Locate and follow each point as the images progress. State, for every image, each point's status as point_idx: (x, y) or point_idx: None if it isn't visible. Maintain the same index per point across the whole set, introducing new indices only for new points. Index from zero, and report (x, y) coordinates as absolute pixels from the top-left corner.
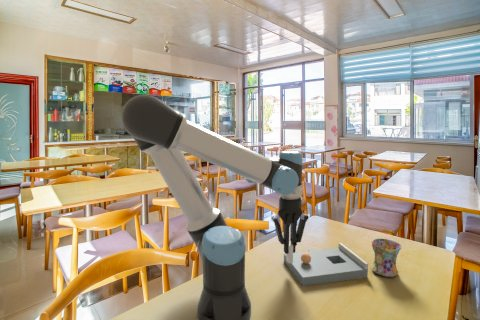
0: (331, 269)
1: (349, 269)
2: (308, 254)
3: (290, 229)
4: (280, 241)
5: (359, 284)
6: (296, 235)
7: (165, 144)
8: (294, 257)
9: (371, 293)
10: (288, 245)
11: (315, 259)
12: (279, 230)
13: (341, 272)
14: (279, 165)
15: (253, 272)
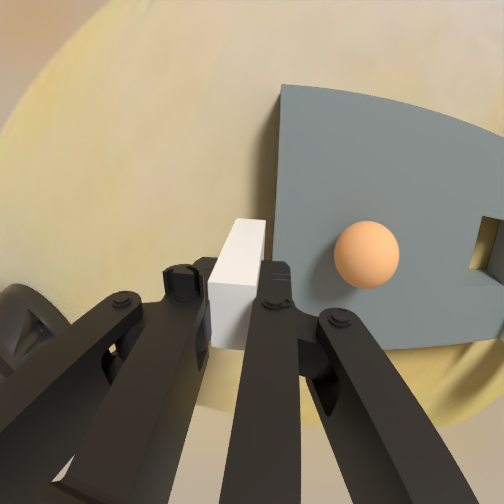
0: (422, 322)
1: (469, 333)
2: (388, 274)
3: (232, 429)
4: (112, 362)
5: (446, 347)
6: (332, 363)
7: None
8: (329, 155)
9: (431, 381)
10: (211, 332)
11: (429, 221)
12: (50, 452)
13: (433, 345)
14: None
15: (94, 173)
